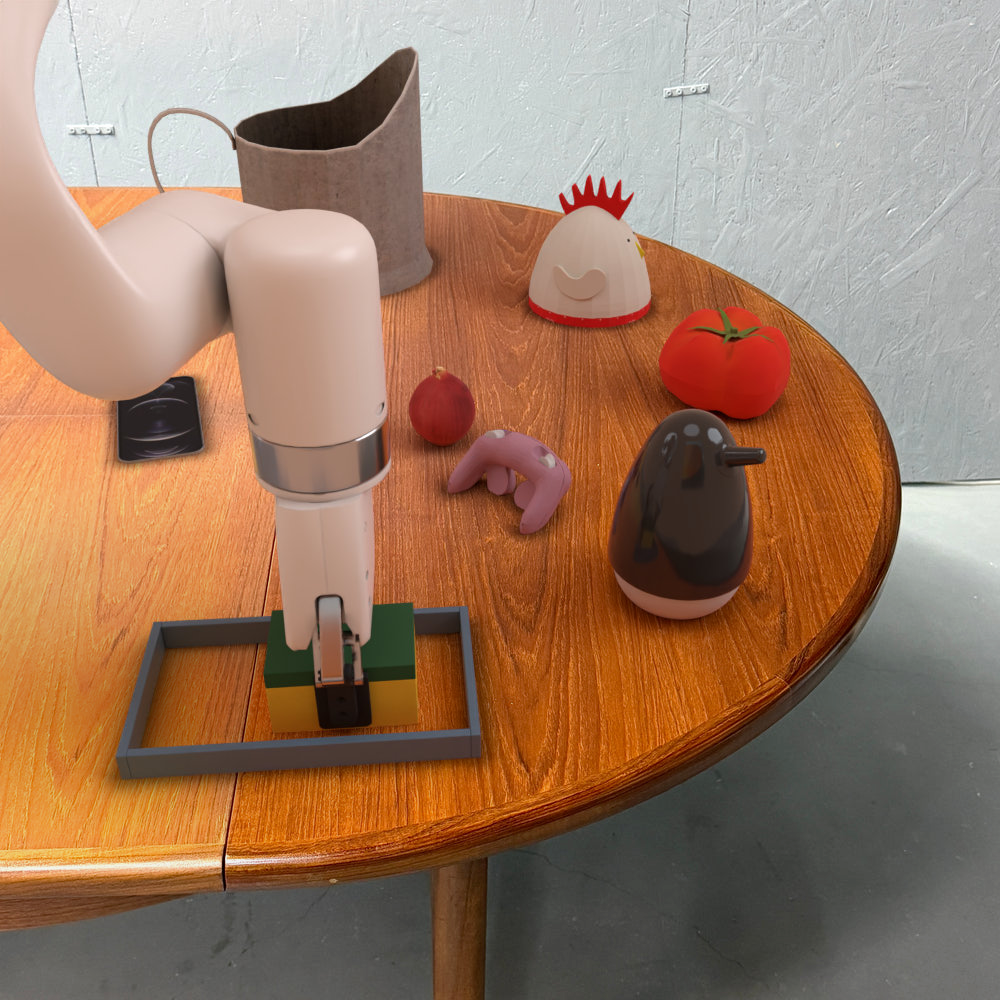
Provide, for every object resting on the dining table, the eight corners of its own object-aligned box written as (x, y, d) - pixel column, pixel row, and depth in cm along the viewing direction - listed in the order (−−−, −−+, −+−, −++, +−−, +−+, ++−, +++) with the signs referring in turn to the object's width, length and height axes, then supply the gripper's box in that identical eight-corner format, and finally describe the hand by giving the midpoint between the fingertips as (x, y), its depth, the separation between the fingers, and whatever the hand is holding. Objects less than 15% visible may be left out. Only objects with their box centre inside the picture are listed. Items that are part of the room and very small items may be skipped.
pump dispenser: (698, 663, 73) (726, 472, 64) (576, 599, 78) (586, 417, 70) (772, 592, 79) (806, 411, 71) (654, 538, 85) (672, 364, 77)
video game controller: (559, 540, 87) (588, 460, 86) (524, 540, 84) (554, 457, 82) (474, 493, 93) (500, 417, 91) (438, 491, 89) (465, 412, 88)
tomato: (637, 380, 108) (644, 300, 103) (754, 369, 110) (765, 290, 105) (681, 442, 98) (690, 357, 93) (808, 429, 100) (824, 345, 95)
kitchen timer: (634, 339, 116) (645, 202, 108) (513, 322, 119) (514, 188, 111) (660, 292, 127) (671, 164, 119) (548, 278, 130) (551, 153, 122)
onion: (433, 424, 100) (431, 346, 96) (487, 440, 98) (487, 360, 93) (398, 452, 96) (394, 371, 91) (453, 469, 93) (451, 387, 89)
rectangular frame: (123, 786, 63) (115, 757, 62) (159, 649, 74) (153, 621, 72) (481, 764, 65) (480, 734, 64) (468, 633, 75) (467, 605, 74)
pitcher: (452, 295, 126) (447, 70, 112) (173, 324, 118) (131, 87, 105) (413, 230, 144) (405, 30, 130) (169, 252, 137) (133, 42, 123)
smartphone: (117, 463, 92) (115, 383, 104) (119, 471, 93) (117, 391, 105) (205, 450, 94) (194, 374, 106) (207, 459, 95) (196, 382, 107)
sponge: (272, 734, 66) (262, 674, 64) (280, 668, 71) (271, 610, 69) (418, 724, 67) (415, 664, 64) (416, 660, 72) (412, 601, 69)
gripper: (266, 375, 66) (297, 605, 76) (233, 537, 51) (277, 795, 61) (389, 370, 66) (404, 599, 76) (390, 529, 52) (409, 786, 62)
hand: (347, 684), depth 69 cm, fingers closed on sponge, 6 cm apart
